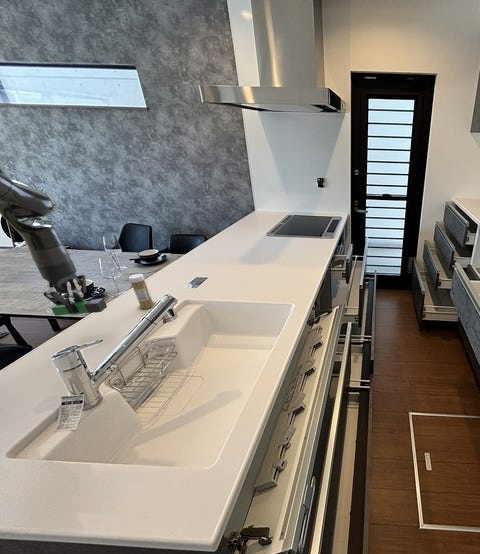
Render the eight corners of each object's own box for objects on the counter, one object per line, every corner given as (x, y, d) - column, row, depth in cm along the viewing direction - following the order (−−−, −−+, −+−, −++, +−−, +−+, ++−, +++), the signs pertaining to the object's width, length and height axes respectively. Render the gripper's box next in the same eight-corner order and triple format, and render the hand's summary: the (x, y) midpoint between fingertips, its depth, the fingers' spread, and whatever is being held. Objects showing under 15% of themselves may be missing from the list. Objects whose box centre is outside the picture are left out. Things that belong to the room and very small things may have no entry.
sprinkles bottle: (156, 303, 124) (145, 273, 118) (150, 308, 119) (138, 278, 114) (144, 303, 123) (133, 273, 118) (137, 309, 119) (125, 278, 114)
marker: (54, 316, 95) (49, 307, 93) (62, 310, 98) (57, 302, 96) (100, 312, 96) (96, 303, 95) (107, 307, 99) (103, 298, 98)
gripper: (48, 269, 84) (75, 321, 91) (84, 252, 96) (105, 299, 104) (17, 271, 83) (47, 324, 90) (58, 253, 95) (81, 301, 103)
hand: (78, 310), depth 97 cm, fingers closed on marker, 2 cm apart
